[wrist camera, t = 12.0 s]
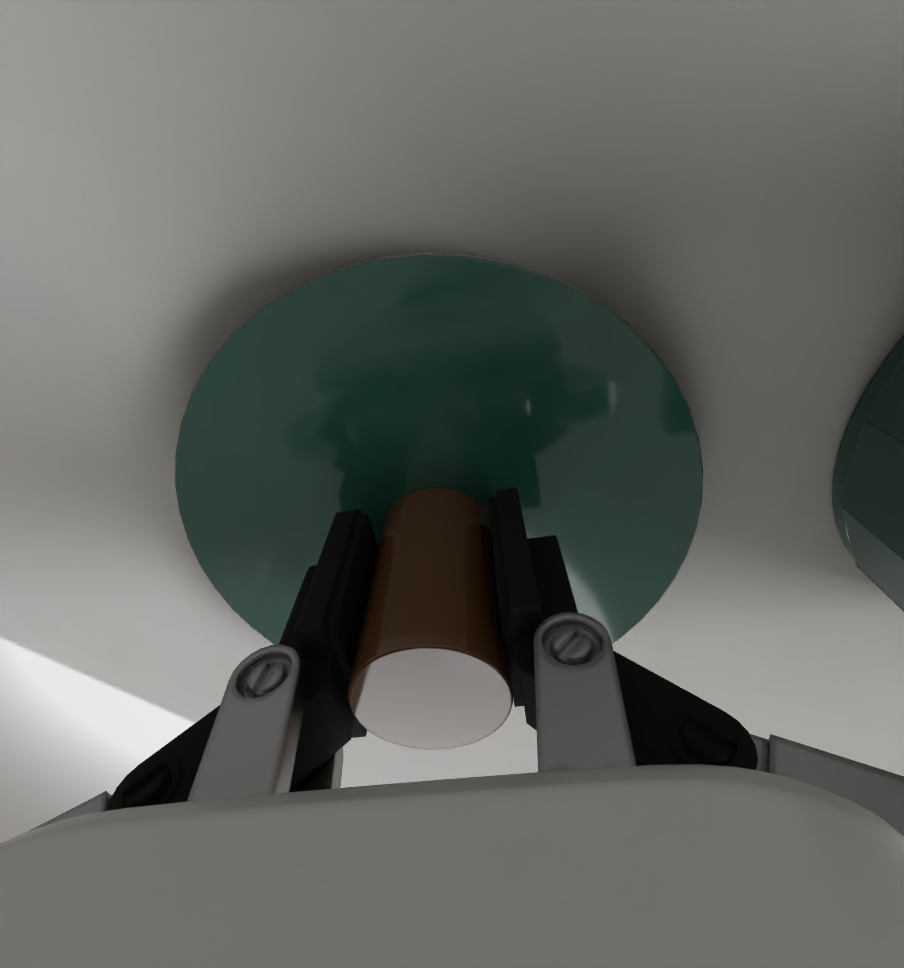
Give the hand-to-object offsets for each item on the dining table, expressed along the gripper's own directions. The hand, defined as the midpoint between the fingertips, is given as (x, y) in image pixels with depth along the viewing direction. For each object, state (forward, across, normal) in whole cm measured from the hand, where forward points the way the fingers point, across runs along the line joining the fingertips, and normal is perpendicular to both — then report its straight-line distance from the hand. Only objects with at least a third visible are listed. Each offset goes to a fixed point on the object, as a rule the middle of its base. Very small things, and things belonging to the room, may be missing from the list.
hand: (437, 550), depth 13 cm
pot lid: (+1, 0, 0) cm, 1 cm away
